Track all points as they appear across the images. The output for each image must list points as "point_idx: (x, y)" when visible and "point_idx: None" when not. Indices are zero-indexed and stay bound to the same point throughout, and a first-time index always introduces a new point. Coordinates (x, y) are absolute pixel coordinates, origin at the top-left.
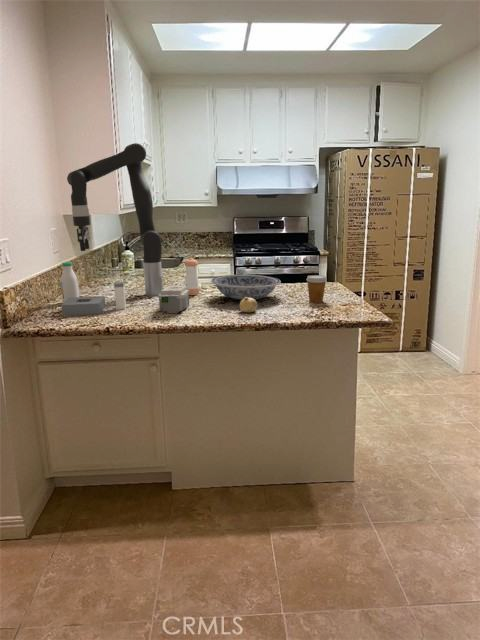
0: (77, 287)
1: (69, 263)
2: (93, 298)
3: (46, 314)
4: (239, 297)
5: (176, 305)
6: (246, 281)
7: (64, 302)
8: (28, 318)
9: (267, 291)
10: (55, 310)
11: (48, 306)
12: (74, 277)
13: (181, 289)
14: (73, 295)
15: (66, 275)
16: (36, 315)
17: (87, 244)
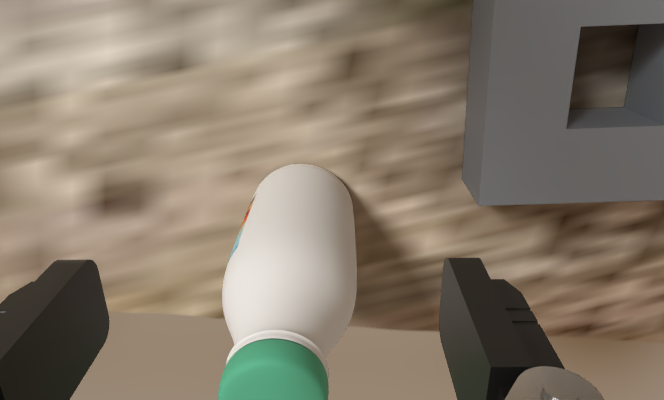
0: (303, 203)
1: (312, 372)
2: (575, 13)
3: (591, 268)
4: None
5: None
6: None
7: (644, 198)
8: (652, 327)
9: None
10: (503, 247)
11: (383, 309)
12: (316, 254)
13: None
14: (346, 205)
15: (343, 322)
16: (596, 309)
17: (50, 335)
